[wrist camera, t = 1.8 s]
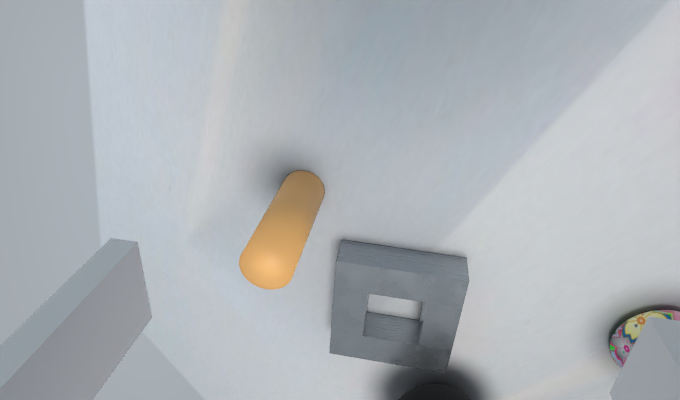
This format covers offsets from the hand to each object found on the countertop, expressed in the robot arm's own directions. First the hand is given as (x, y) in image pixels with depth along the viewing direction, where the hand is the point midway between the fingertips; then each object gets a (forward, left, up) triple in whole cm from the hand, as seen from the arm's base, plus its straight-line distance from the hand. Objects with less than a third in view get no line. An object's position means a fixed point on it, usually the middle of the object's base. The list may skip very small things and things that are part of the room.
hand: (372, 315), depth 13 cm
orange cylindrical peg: (+13, -8, -29) cm, 32 cm away
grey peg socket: (+24, +2, -29) cm, 37 cm away
